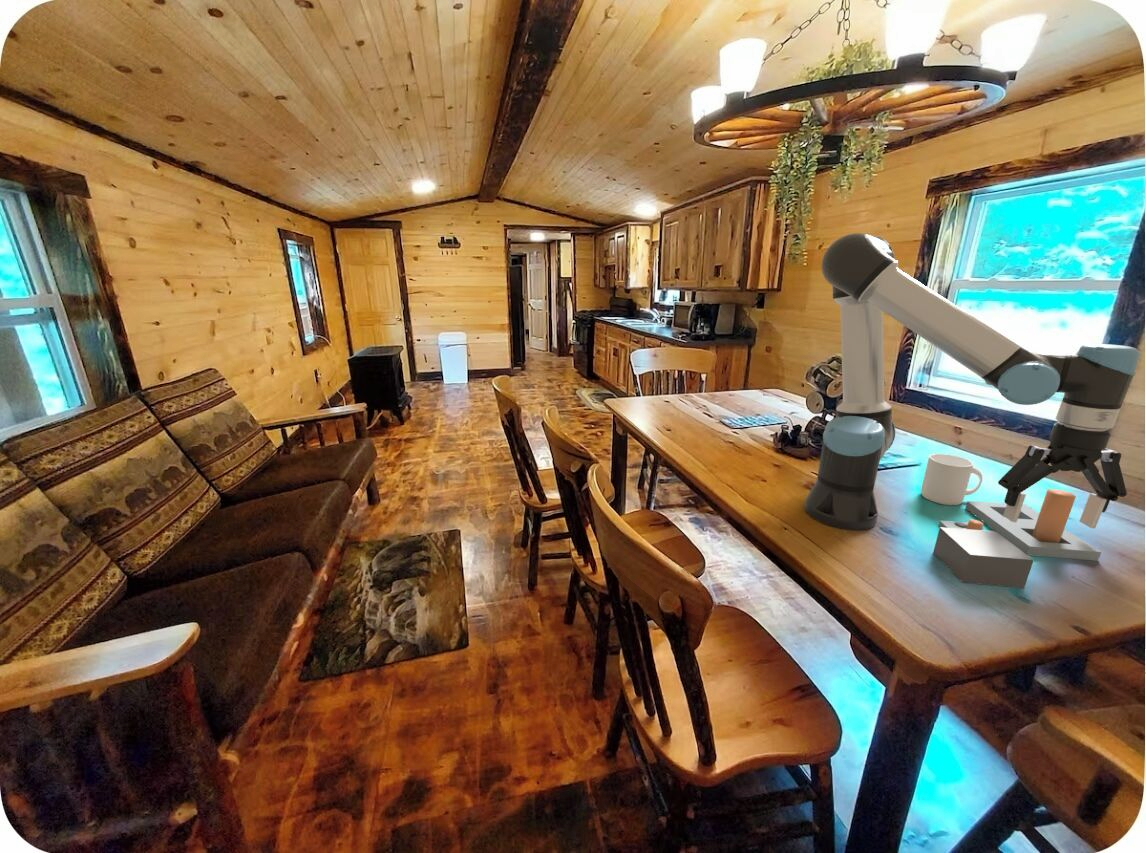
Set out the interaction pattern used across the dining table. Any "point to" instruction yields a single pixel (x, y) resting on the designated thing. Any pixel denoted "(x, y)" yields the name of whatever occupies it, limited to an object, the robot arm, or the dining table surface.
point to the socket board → (1030, 533)
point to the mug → (948, 479)
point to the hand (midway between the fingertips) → (1047, 522)
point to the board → (962, 524)
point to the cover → (982, 557)
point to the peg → (1053, 516)
